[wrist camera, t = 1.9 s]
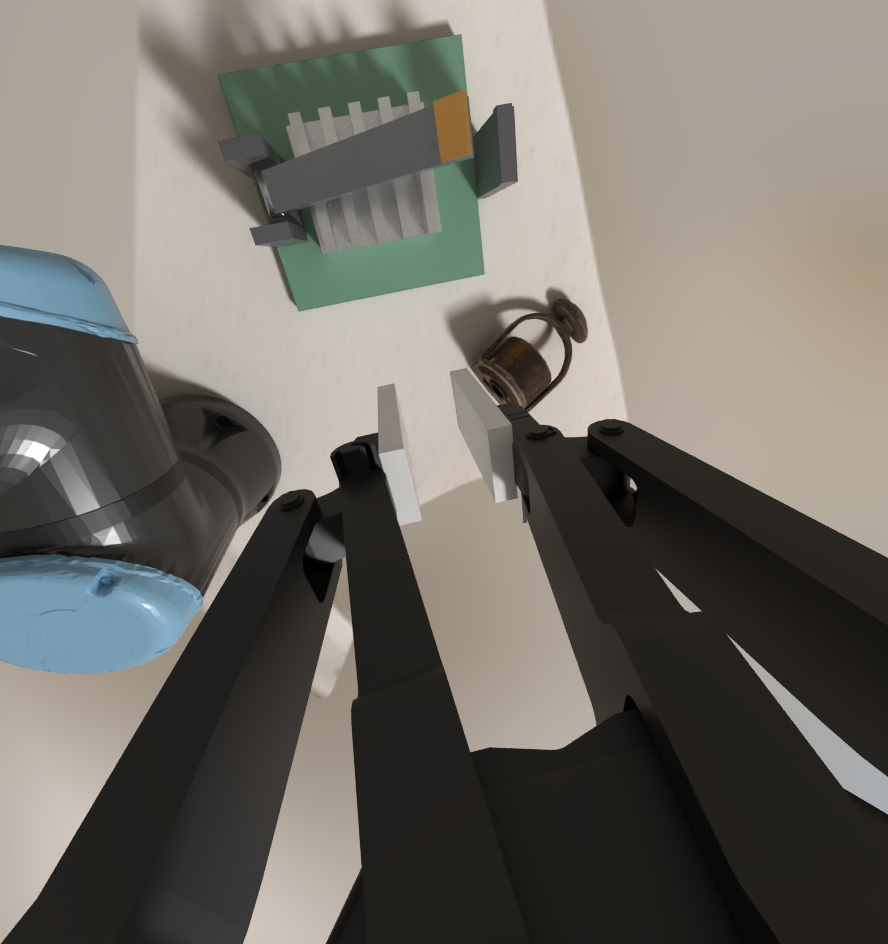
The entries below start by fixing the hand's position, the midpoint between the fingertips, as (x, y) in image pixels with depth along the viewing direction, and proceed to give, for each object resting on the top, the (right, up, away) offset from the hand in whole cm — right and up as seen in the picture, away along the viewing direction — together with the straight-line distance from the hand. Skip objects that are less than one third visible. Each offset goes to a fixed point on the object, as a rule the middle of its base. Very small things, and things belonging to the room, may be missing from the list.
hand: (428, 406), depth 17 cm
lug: (+4, +23, +16) cm, 29 cm away
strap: (-5, +16, +6) cm, 17 cm away
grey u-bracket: (-13, +19, +14) cm, 27 cm away
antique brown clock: (+10, +10, +25) cm, 29 cm away
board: (-6, +21, +15) cm, 27 cm away
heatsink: (-5, +21, +14) cm, 26 cm away
